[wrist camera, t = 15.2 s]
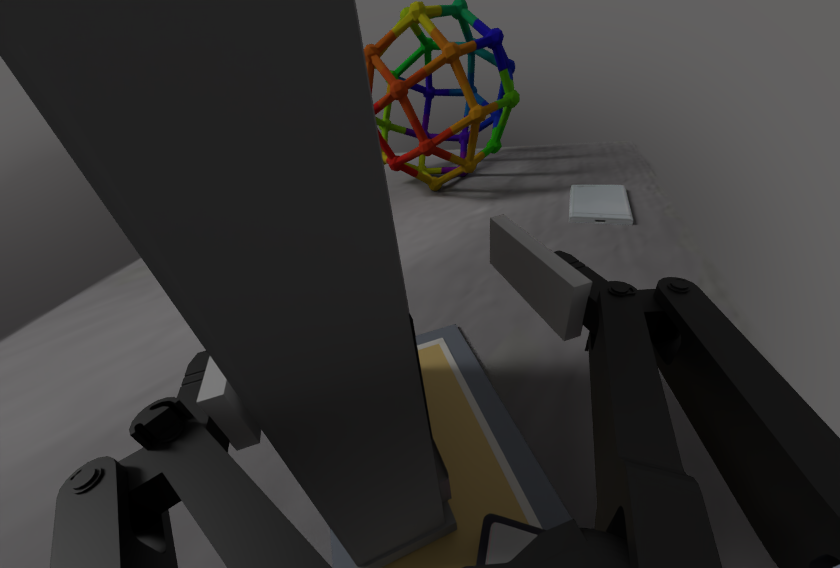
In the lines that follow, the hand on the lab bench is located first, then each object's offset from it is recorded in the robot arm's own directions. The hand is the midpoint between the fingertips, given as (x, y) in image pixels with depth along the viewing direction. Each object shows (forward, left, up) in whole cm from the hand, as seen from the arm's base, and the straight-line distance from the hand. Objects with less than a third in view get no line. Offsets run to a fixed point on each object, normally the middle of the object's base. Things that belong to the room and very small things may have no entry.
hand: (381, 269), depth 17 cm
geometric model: (+21, +51, -15) cm, 58 cm away
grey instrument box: (-3, 0, -15) cm, 15 cm away
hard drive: (+38, +26, -16) cm, 48 cm away
